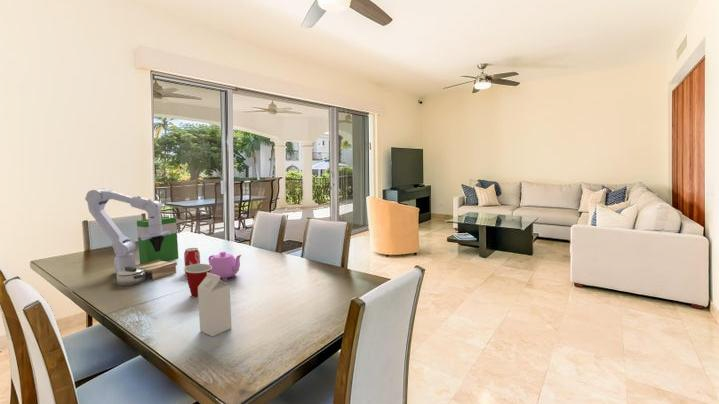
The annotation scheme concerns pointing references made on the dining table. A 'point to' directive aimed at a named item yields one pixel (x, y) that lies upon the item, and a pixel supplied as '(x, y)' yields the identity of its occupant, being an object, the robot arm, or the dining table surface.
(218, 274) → the teapot
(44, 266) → the dining table surface
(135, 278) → the cooker
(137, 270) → the lid
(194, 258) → the soda can
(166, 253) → the hardback book
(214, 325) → the milk carton
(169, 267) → the lid rest
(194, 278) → the plastic cup
